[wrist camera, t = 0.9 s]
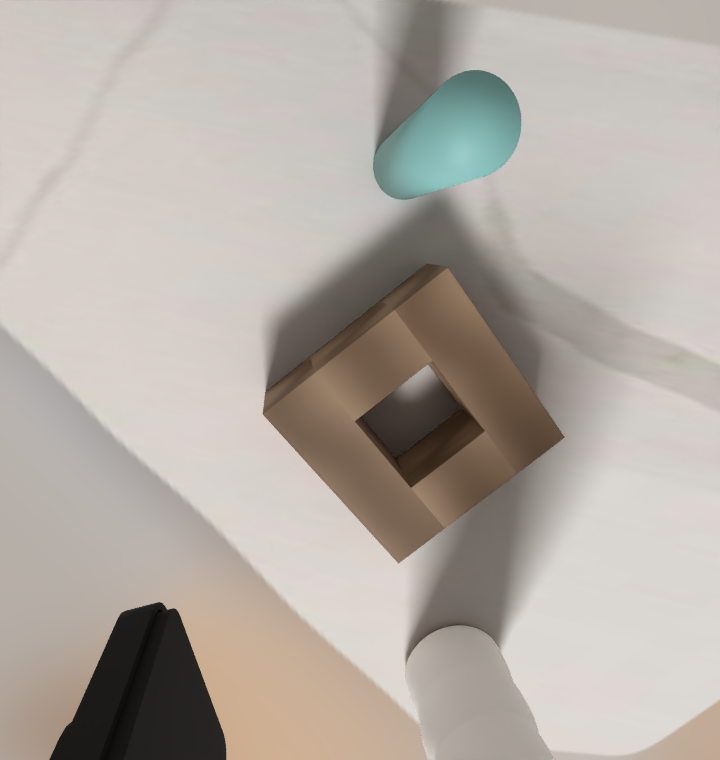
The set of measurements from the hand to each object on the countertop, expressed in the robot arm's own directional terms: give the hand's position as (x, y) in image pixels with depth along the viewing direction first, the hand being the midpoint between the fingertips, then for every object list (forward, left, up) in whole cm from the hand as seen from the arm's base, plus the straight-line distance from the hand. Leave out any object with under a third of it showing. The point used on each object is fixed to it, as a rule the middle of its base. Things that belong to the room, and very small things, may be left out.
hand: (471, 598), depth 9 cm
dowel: (-9, -5, -23) cm, 25 cm away
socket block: (-1, +6, -23) cm, 24 cm away
